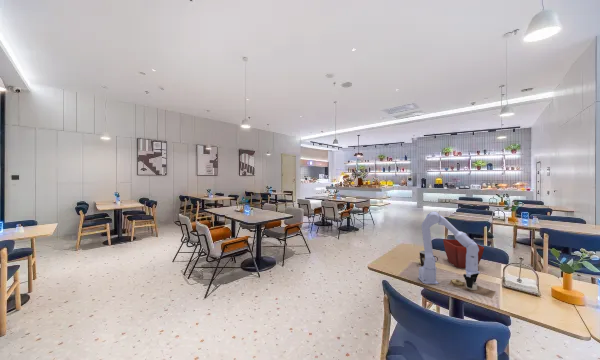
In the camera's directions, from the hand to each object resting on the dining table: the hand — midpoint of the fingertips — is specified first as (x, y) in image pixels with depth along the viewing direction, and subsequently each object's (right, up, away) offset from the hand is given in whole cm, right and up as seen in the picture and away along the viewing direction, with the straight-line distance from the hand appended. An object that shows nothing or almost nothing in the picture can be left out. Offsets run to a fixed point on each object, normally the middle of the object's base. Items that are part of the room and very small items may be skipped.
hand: (471, 285), depth 138 cm
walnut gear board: (0, -3, 0) cm, 3 cm away
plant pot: (+20, -2, +37) cm, 42 cm away
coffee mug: (-7, -2, +35) cm, 35 cm away
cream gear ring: (0, -1, 0) cm, 1 cm away
